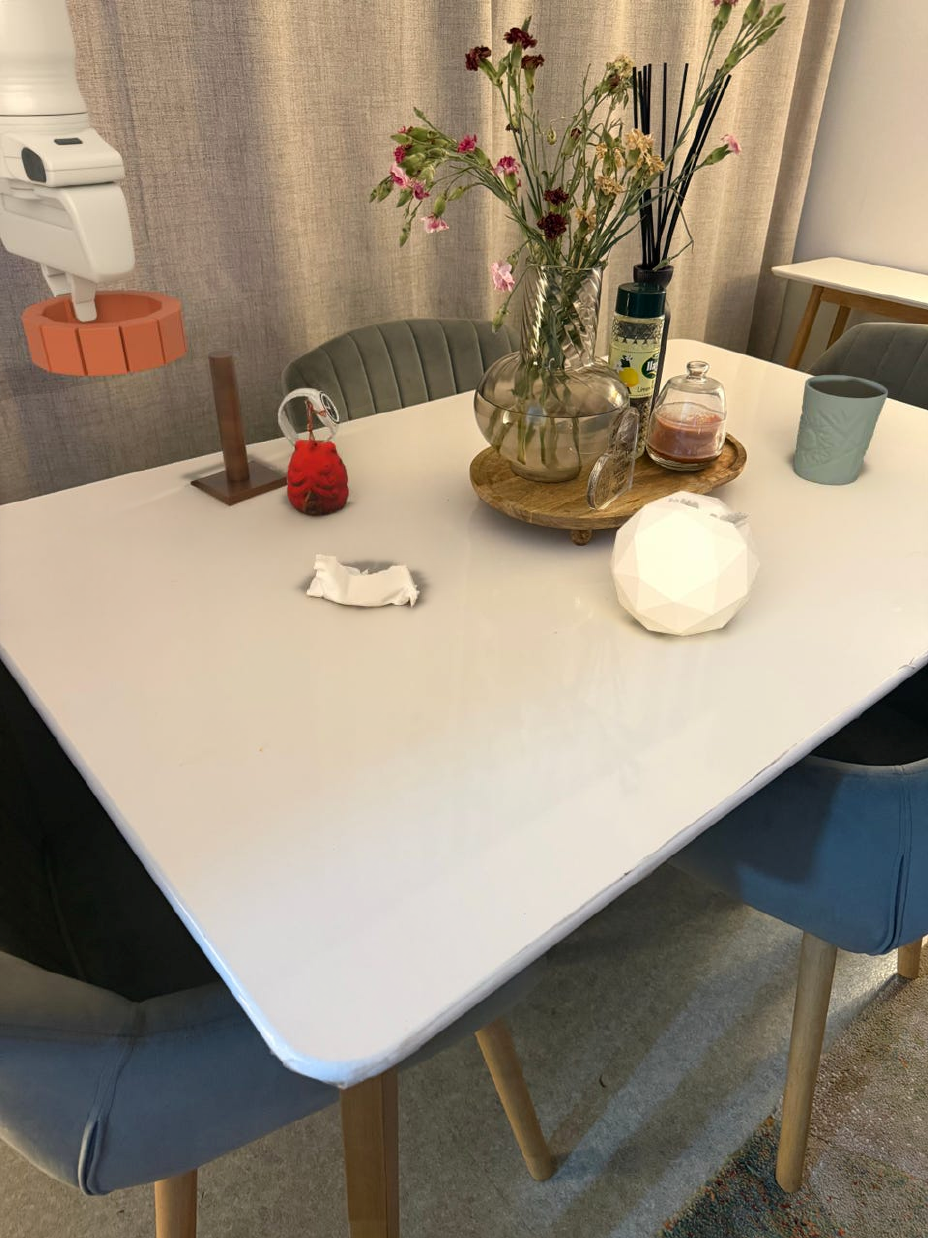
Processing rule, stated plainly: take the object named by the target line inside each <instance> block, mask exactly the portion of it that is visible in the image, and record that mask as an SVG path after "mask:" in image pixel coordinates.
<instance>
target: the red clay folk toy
mask: <svg viewBox="0 0 928 1238" xmlns="http://www.w3.org/2000/svg"><path fill="white" fill-rule="evenodd" d="M303 402H304V404H305V405H306V415H307V422H308V424H307V425H306V430H307V432H309V435H308V440H309V441H304V440H305V439H300V440H299V441H297V442H296V443H295V446H293V447H294V450H295V451H294V450H293V452H294V453H293V452H292V454H293V455H291V457H290V460H289V463H288V466H287V474H286V476H287V484H288V485H286V486H287V487H286V493H287V494H286V495H287V498H288V500H289V502H290V504H291V506H292V507H293V508H294V509H295V510H296V511H298V512H299V513H301V514H303V515H306V516H311V517H320V516H328V515H331V514H334V513H336V512H338V511H341V510H342V509H343V508H344V506H345V505H346V503H347V502H348V498H349V495H350V489H349V485H348V484H349V476H348V470H347V466H346V465H345V463H344V462H343V459H342V457H341V456H340V455H339V453H338V450H337V446H336V444H335V443H334V442H333V441H332V442H331V441H327V440H326V441H327V442H319V441H316V436H315V435H314V432H313V430H314V424H313V414H315V415H317V414H319V415H321V416H323V417H327V414H326V412H327V411H326V410H321V411H319V410H314V408H313V404H312V403H310V401H309V399H308V398H306V399H305V400H303Z"/></svg>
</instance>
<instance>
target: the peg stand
mask: <svg viewBox="0 0 928 1238" xmlns="http://www.w3.org/2000/svg"><path fill="white" fill-rule="evenodd" d="M207 358H208V364H209V371H210V379H211V385H212V390H213V398H214V404H215V412H216V417H217V424H218V430H219V431H218V432H219V438H220V445H221V451H222V458H223V463H224V470H221V471H218V472H215V473H213V474H209V475H206V476H204V477H200V478H197V479H194V480H192V481H190V485H191V486H192V487H194V488H195V489H198V490H200V491H202V492H204V494H207V495H209V496H210V497H213V498H215V499H216V500H218V501H220V502H222V503H224V504H225V505H227V506H229V507H230V506H233V505H236V504H238V503H241V502H243V501H246V500H249V499H252V498H255V497H257V496H261V495H263V494H266V493H268V492H271V491H274V490H277V489H280V488H282V487H286V486H287V485H288V480H287V475H284V474H282V473H280V472H278V471H277V470H274V469H272V468H270V467H268V466H266V465H264V464H261V463H260V462H258V461H256V460H252V461H249V459H248V452H247V451H248V450H247V444H246V437H245V429H244V422H243V415H242V407H241V399H240V391H239V385H238V377H237V370H236V363H235V362H236V361H235V355H234V352H233V351H230V350H223V349H221V350H214V351H211V352H208V354H207Z"/></svg>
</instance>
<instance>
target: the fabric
mask: <svg viewBox="0 0 928 1238" xmlns="http://www.w3.org/2000/svg"><path fill="white" fill-rule="evenodd" d="M313 570H316V573H315V577H314V578H313V579H312V581H311V583H310V587H309V588H308V589H307V590H306V594H305V596H307V597H309V596H310V597H314V598H324V599H325V600H328V601H331V602H334V603H337V604H341V605H346V606H358V607H359V606H360V607H370V608H371V607H383V606H387V605H389V604H392V605H394V606H404V605H406V604H407V603H408V602H409V603H410V607H411V609H413V608H414V605H415V604H416V602H417V599H418V596H419V594H420V590H418V589H417V587H418V584H415V582H414V580H413V577H412V574H411V572H410V569H409V567H408V566H407V565H406V564H403V565H400V564H398V565H391V566H390V567H389V568H387V569H383V570H380V571H378V572H373V573H369V571H370V570H371V568H370V567H367V569H365V570H364V571H362V572H361V570H360V569H358V568H357V567H354V566H353V567H352V566H348V565H343V564H342V563H341V562H340V561H339V559H338V557H336V555H326V554H325V555H324V554H320V553H316V554H315V563H314V566H313Z"/></svg>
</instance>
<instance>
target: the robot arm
mask: <svg viewBox="0 0 928 1238" xmlns="http://www.w3.org/2000/svg"><path fill="white" fill-rule="evenodd" d="M67 6H68V5H67V2H66V0H0V241H1V242H2V244H3V246H4V248H5V249H6V251H7V252H8V253H11V254H13V255H16V256H20V257H21V258H25V259H27V260H31V261H33V262H37V263H39V264H40V269H41V272H42V276H43V277H44V279H45V281H46V283H47V285H48V287H49V288H50V291H51V293H52V294H53V298H54V297H59V296H64V295H70V294H71V296H72V300H69V305H70V309H71V314H72V316H73V318H75V319H77V320H80V321H82V322H86V321H91V320H95V319H96V317H97V313H96V308H95V303H94V299H95V292H96V291H97V284H108V283H114V282H120V281H125V280H129V279H131V278H132V277H133V274H134V271H135V266H136V254H135V247H134V238H133V232H132V226H131V221H130V220H131V219H130V215H129V214H130V213H129V210H128V209H129V208H128V205H127V201H126V197H125V194H124V192H123V190H122V189H121V187H120V186H119V184H118V183H116V182H121V181H124V180H125V177H126V173H125V167H124V161H123V158H122V156H121V154H120V152H119V151H118V150H116V149H115V148H114V147H113V146H112V145H110V144H109V143H108V142H107V141H106V140H104V139H103V138H102V137H101V136H100V134H99V132H97V130H96V129H95V128H93V127H92V124H91V120H90V114H89V110H88V106H87V103H86V100H85V98H84V97H83V94H82V92H81V90H80V87H79V83H78V79H77V71H76V68H77V66H76V65H77V48H76V43H75V37H74V33H73V29H72V24H71V18H70V13H69V10H68V7H67Z"/></svg>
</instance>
